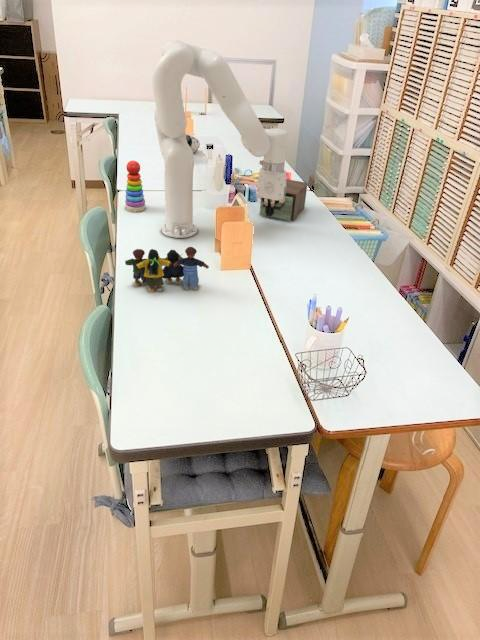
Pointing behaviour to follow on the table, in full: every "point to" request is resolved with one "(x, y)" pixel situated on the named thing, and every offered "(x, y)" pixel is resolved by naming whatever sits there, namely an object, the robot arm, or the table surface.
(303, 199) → the cabinet
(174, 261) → the doll family
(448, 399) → the table surface
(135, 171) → the stacking toy
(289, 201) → the drawer
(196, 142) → the paint bucket
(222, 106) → the robot arm
